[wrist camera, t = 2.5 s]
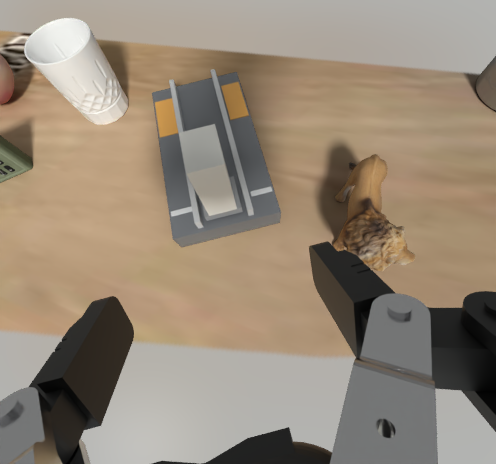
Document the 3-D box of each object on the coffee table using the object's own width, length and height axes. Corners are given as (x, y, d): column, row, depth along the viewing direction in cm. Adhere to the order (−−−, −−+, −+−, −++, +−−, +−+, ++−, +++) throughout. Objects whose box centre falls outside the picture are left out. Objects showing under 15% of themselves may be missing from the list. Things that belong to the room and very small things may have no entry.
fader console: (239, 90, 38) (235, 61, 34) (279, 222, 31) (281, 206, 27) (160, 109, 38) (147, 83, 34) (181, 247, 31) (167, 234, 26)
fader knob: (234, 180, 29) (220, 122, 21) (242, 211, 28) (231, 162, 20) (200, 189, 29) (172, 134, 21) (206, 220, 28) (179, 175, 20)
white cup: (86, 135, 38) (25, 73, 28) (79, 98, 41) (21, 30, 31) (137, 117, 38) (94, 50, 29) (127, 82, 41) (85, 9, 32)
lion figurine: (384, 283, 28) (434, 264, 19) (333, 281, 28) (360, 261, 20) (369, 165, 33) (404, 109, 24) (326, 165, 33) (345, 110, 25)
